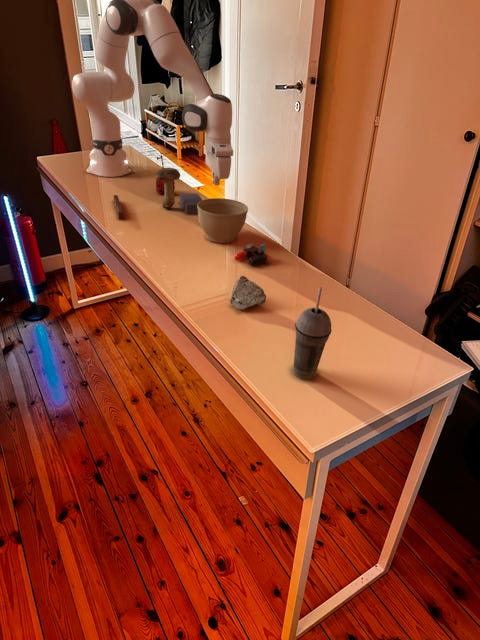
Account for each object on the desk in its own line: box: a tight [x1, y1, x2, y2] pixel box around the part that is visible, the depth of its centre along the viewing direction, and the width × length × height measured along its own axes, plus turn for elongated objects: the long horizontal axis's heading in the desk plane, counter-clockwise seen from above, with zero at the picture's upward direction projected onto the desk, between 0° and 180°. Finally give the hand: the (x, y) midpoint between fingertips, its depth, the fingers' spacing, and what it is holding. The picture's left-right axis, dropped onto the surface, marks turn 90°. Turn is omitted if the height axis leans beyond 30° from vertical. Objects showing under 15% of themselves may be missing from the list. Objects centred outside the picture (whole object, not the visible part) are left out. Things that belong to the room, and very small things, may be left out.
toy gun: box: [233, 242, 269, 267], centre depth 144 cm, size 10×12×5 cm
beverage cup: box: [293, 286, 332, 381], centre depth 95 cm, size 7×7×20 cm
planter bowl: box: [197, 197, 249, 244], centre depth 154 cm, size 16×16×11 cm
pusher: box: [179, 193, 203, 215], centre depth 177 cm, size 12×7×4 cm, turn 18°
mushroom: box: [155, 167, 181, 210], centre depth 171 cm, size 9×9×15 cm
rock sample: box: [229, 275, 267, 310], centre depth 121 cm, size 10×8×9 cm
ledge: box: [112, 194, 124, 221], centre depth 169 cm, size 18×2×2 cm, turn 18°
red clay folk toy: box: [155, 152, 176, 196], centre depth 186 cm, size 8×7×15 cm
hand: (216, 184), depth 175 cm, fingers closed
